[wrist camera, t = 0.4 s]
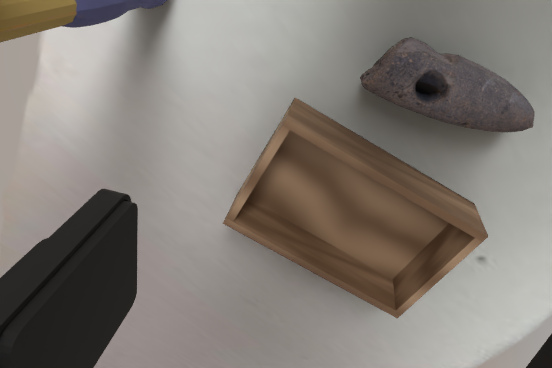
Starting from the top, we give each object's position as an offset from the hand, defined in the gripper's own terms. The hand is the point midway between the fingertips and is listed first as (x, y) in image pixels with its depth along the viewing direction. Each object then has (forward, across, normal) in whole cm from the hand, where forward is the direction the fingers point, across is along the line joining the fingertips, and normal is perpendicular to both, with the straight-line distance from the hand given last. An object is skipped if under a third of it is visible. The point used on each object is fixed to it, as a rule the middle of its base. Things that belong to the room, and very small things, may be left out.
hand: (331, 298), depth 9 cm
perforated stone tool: (+33, -9, +2) cm, 35 cm away
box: (+33, -4, +17) cm, 37 cm away
